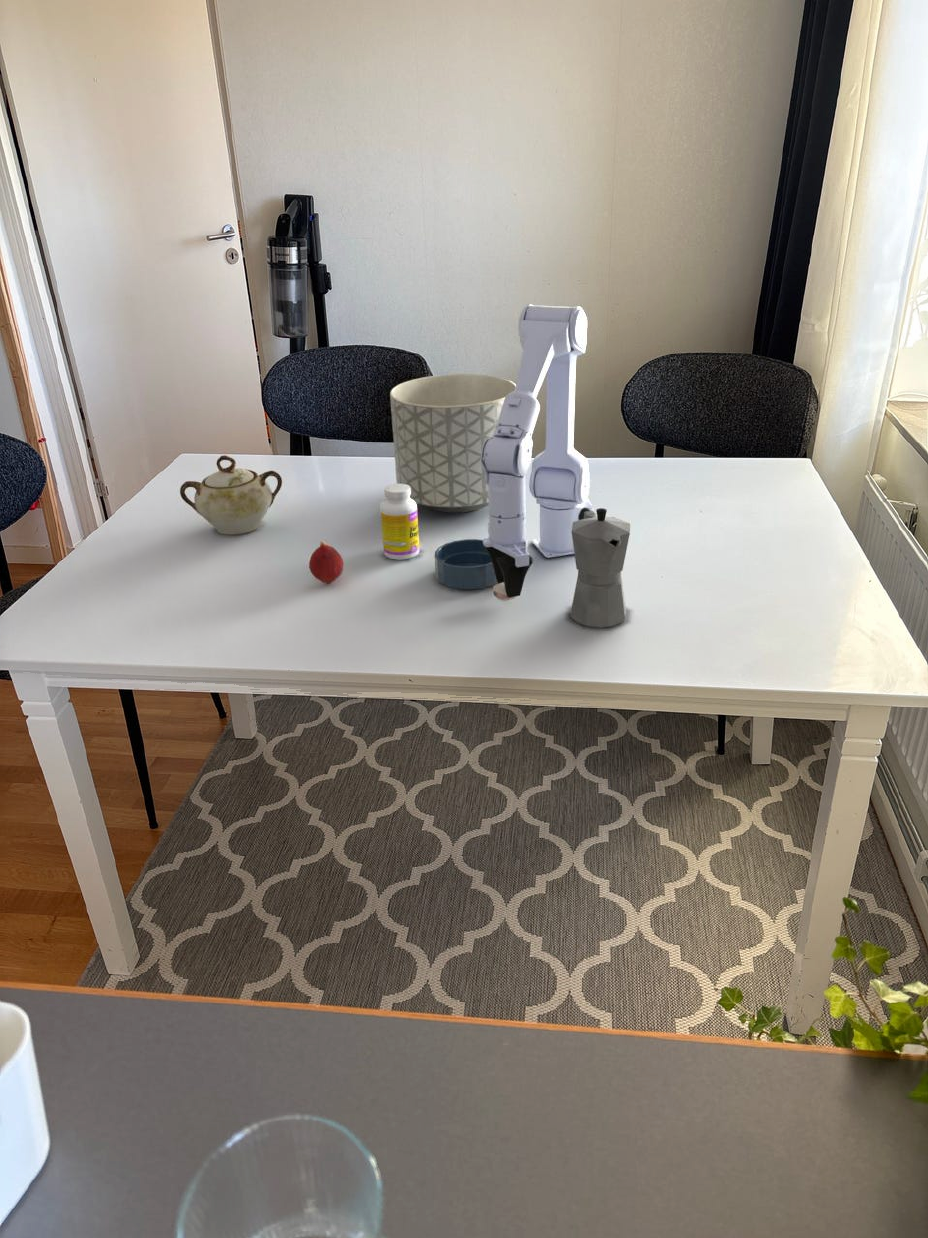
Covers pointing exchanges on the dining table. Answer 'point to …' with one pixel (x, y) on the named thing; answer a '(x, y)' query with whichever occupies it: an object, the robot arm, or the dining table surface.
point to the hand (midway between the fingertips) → (508, 589)
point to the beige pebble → (501, 592)
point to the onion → (326, 563)
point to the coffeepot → (599, 568)
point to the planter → (446, 437)
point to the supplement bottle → (399, 523)
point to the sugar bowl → (232, 498)
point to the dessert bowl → (464, 565)
